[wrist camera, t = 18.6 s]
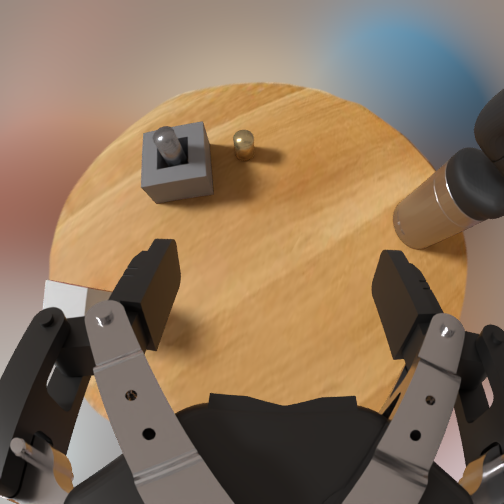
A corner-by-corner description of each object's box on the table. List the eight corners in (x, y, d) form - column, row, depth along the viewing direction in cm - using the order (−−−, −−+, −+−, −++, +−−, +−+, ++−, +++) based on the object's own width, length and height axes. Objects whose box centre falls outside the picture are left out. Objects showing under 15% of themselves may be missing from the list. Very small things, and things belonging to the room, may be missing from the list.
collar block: (209, 143, 50) (202, 121, 43) (213, 194, 48) (206, 175, 41) (156, 153, 50) (143, 133, 43) (156, 203, 48) (141, 187, 41)
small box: (130, 294, 45) (88, 287, 32) (126, 332, 44) (84, 337, 31) (91, 287, 45) (44, 278, 33) (87, 323, 44) (40, 324, 31)
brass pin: (253, 144, 49) (252, 128, 44) (255, 160, 49) (254, 144, 44) (234, 146, 49) (232, 131, 44) (236, 162, 49) (234, 147, 44)
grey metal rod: (192, 163, 49) (174, 124, 37) (193, 179, 48) (174, 142, 37) (174, 166, 49) (153, 129, 37) (175, 182, 48) (152, 147, 37)
